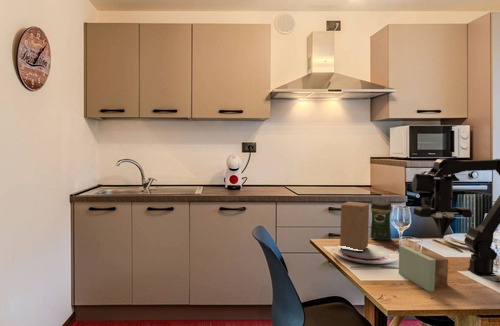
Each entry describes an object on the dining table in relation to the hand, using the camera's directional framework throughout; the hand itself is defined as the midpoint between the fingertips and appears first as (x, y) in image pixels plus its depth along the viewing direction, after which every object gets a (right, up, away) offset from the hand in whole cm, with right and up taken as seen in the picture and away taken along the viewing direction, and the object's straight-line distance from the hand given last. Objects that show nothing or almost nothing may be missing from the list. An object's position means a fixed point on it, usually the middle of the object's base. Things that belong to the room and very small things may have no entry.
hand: (441, 235), depth 129 cm
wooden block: (-24, -12, +27) cm, 38 cm away
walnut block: (-10, -14, -9) cm, 19 cm away
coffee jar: (-6, -11, +44) cm, 45 cm away
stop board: (-14, -13, -10) cm, 22 cm away
